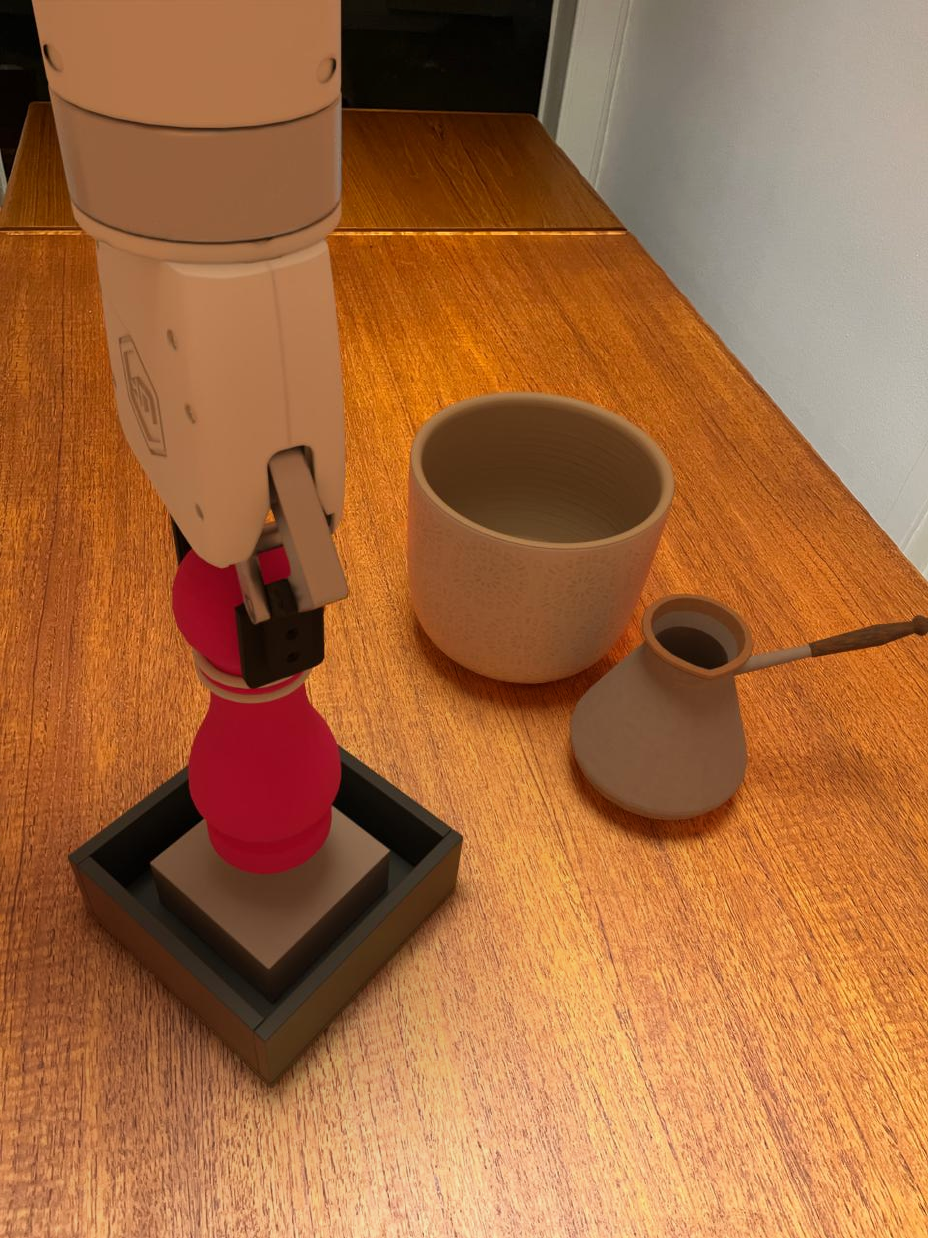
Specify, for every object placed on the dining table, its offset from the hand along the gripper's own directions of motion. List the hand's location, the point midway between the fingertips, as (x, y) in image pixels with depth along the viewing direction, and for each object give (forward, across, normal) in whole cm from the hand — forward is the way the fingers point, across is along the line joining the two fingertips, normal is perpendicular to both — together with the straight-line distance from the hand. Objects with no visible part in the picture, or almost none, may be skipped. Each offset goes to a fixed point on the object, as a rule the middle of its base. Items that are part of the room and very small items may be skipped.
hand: (249, 614), depth 39 cm
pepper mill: (+15, 0, 0) cm, 15 cm away
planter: (+23, -12, +24) cm, 35 cm away
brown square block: (+22, 0, 0) cm, 22 cm away
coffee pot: (+23, +5, +30) cm, 38 cm away
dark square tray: (+23, 0, 0) cm, 23 cm away
